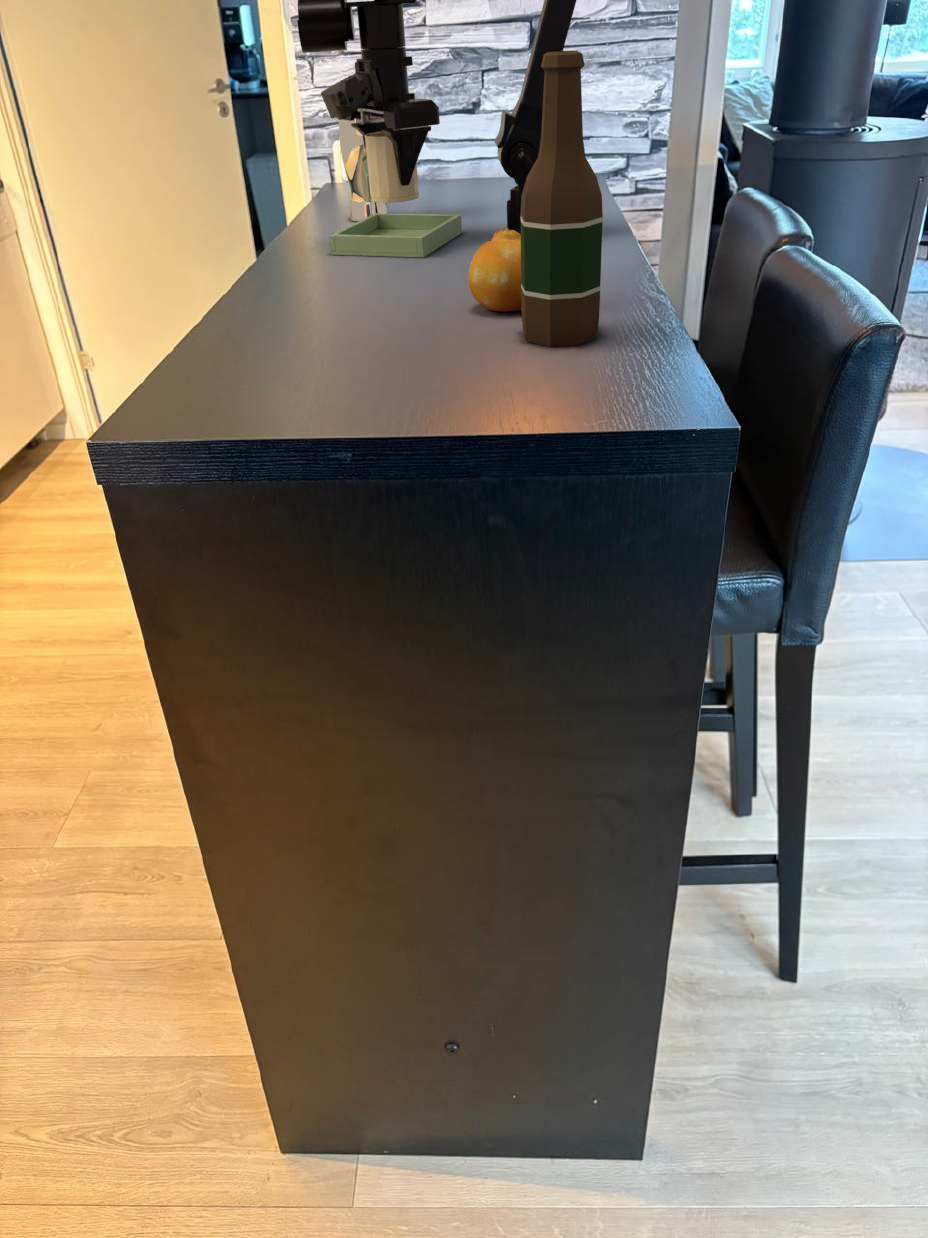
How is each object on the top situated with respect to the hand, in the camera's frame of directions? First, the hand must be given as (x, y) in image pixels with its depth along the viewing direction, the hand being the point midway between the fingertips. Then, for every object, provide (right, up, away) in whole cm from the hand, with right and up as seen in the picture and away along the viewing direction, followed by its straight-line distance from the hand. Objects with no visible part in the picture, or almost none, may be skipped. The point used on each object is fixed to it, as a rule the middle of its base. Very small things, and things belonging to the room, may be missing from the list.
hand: (394, 182), depth 127 cm
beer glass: (-5, +4, +21) cm, 22 cm away
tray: (0, -7, +4) cm, 8 cm away
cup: (0, -2, +1) cm, 2 cm away
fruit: (+14, -26, -26) cm, 39 cm away
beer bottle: (+19, -32, -35) cm, 51 cm away
